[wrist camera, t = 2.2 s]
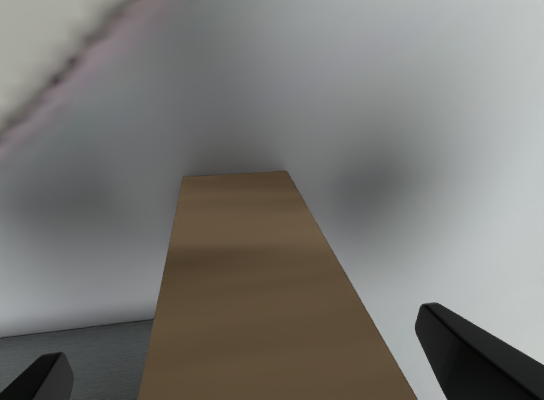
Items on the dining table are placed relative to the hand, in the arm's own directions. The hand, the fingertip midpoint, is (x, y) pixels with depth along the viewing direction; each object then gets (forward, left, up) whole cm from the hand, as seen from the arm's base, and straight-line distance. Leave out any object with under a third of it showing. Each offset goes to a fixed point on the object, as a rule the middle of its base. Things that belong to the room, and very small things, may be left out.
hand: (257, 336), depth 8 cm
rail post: (0, 0, -6) cm, 6 cm away
